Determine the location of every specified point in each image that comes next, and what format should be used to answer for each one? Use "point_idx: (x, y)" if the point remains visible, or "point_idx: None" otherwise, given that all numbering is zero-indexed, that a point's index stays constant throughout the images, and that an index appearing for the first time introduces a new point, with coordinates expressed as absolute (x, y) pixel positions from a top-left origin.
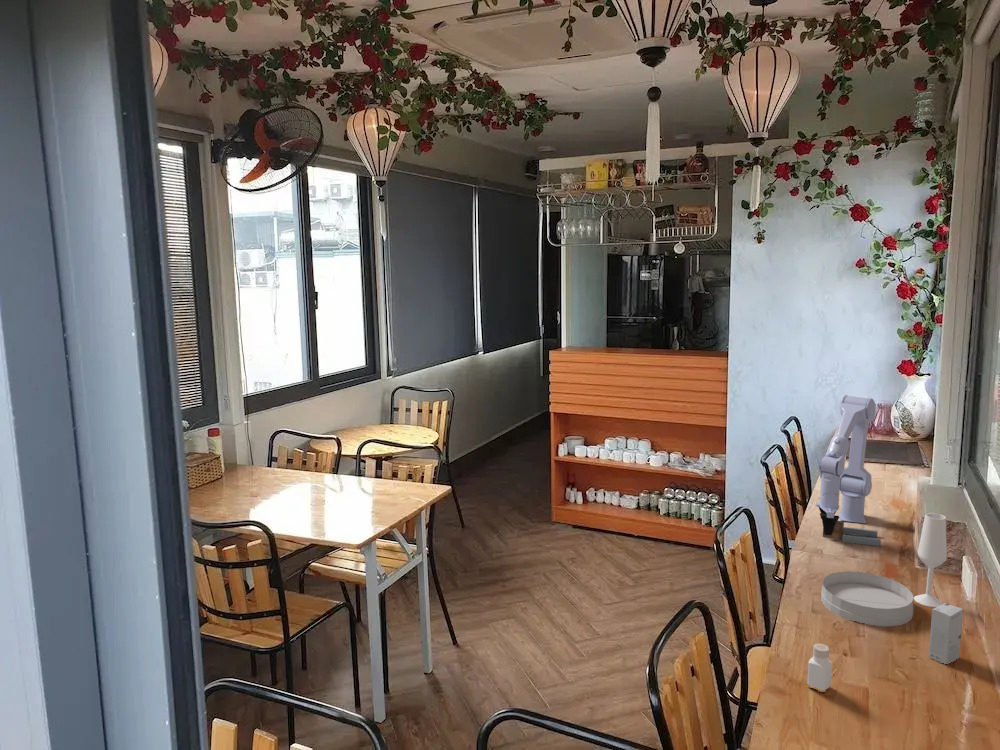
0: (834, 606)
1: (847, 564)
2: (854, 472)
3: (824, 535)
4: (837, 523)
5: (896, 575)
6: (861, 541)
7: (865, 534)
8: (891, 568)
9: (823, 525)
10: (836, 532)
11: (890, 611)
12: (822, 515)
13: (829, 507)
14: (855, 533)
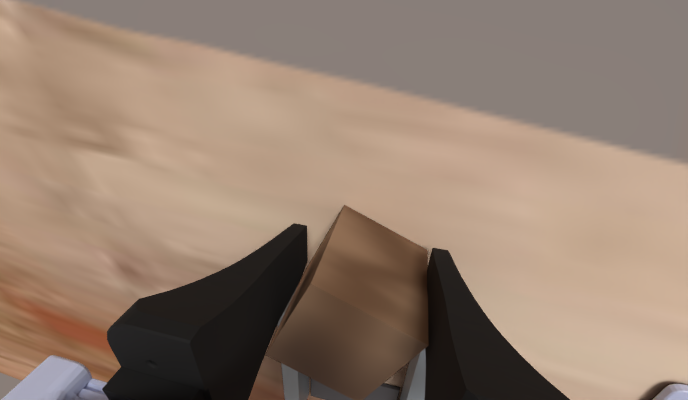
0: None
1: (31, 227)
2: None
3: (337, 219)
4: (309, 360)
5: (63, 334)
6: None
7: (402, 397)
8: (106, 342)
9: (240, 260)
10: (292, 298)
11: None
12: (112, 337)
13: None
14: (409, 370)
